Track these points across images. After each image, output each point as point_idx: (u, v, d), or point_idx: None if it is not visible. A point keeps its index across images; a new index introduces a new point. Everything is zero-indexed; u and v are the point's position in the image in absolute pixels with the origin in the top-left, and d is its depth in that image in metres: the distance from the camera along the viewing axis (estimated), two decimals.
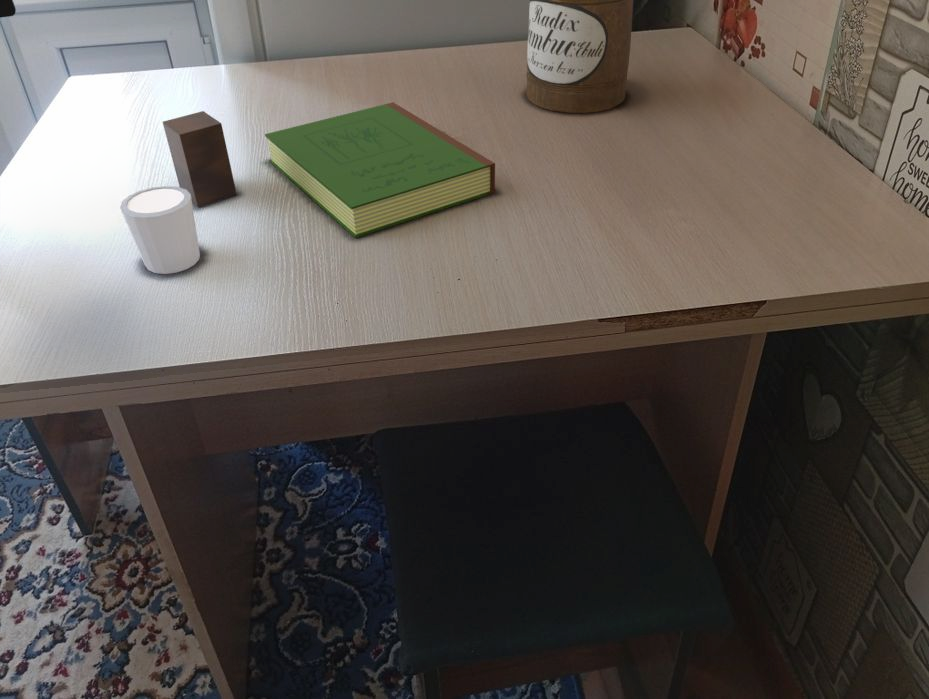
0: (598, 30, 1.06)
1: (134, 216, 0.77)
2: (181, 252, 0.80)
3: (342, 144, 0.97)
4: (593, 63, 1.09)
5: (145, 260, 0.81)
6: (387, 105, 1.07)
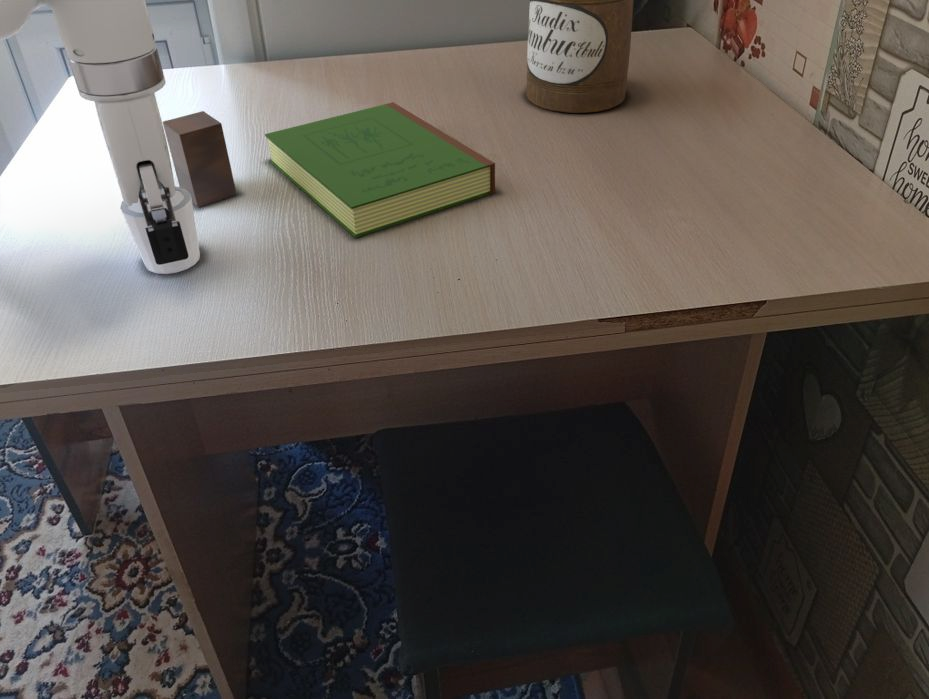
0: (598, 31, 1.06)
1: (134, 216, 0.77)
2: None
3: (342, 144, 0.97)
4: (593, 63, 1.09)
5: (145, 260, 0.81)
6: (387, 105, 1.07)
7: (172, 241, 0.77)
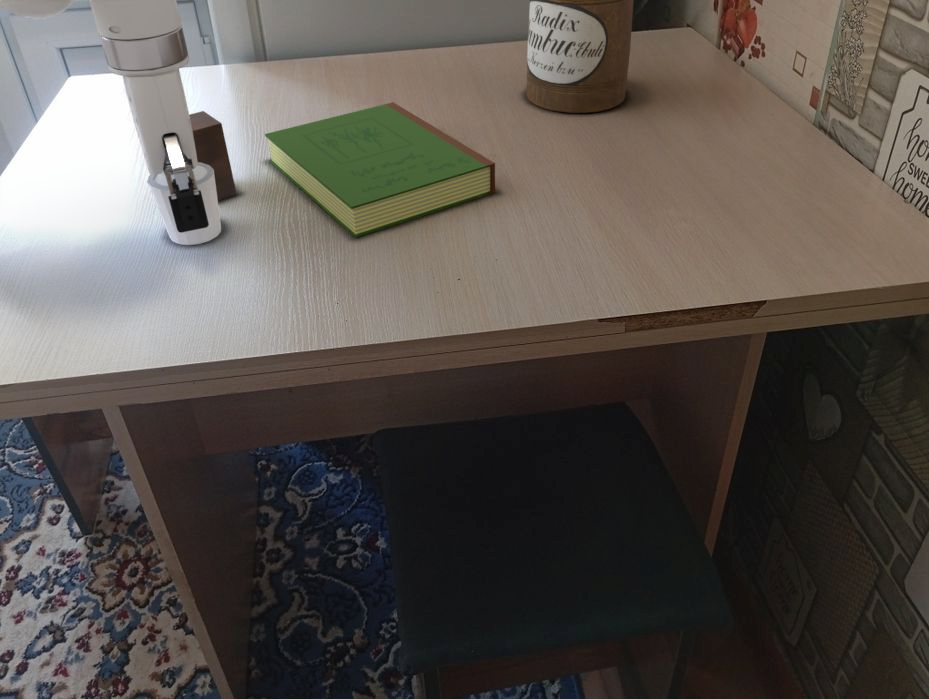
0: (598, 31, 1.06)
1: (161, 189, 0.81)
2: None
3: (342, 144, 0.97)
4: (593, 63, 1.09)
5: (170, 232, 0.85)
6: (387, 105, 1.07)
7: (193, 209, 0.80)
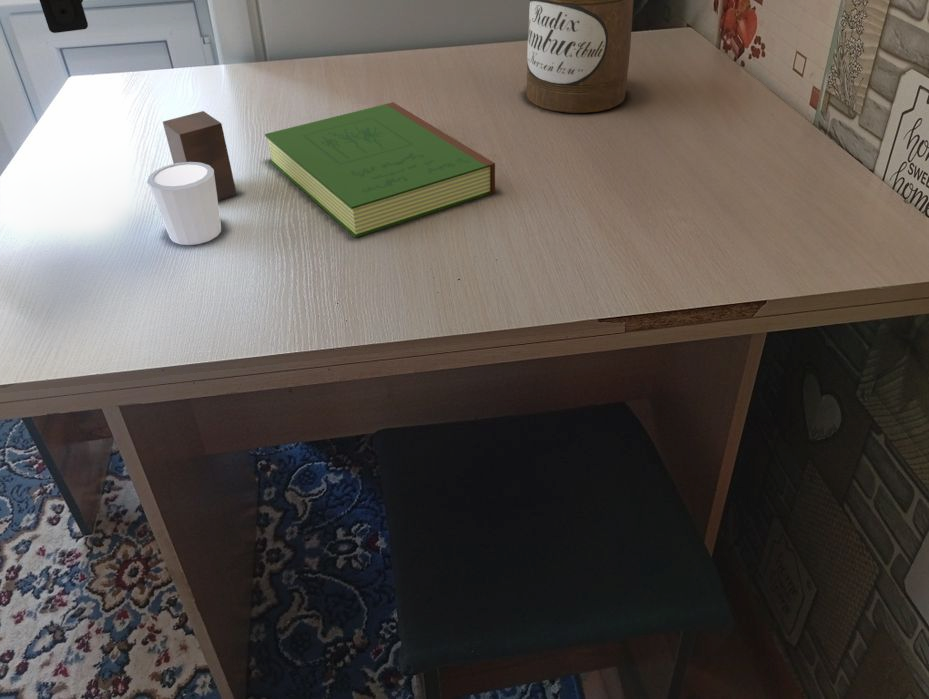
0: (598, 31, 1.06)
1: (161, 189, 0.81)
2: (204, 224, 0.85)
3: (342, 144, 0.97)
4: (593, 63, 1.09)
5: (170, 232, 0.85)
6: (387, 105, 1.07)
7: (66, 0, 0.67)
